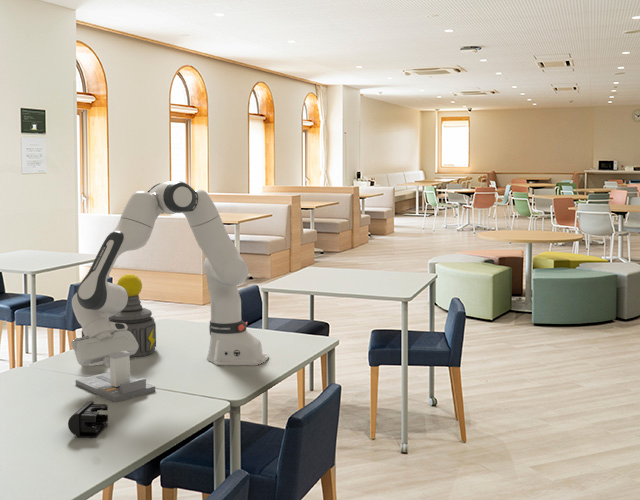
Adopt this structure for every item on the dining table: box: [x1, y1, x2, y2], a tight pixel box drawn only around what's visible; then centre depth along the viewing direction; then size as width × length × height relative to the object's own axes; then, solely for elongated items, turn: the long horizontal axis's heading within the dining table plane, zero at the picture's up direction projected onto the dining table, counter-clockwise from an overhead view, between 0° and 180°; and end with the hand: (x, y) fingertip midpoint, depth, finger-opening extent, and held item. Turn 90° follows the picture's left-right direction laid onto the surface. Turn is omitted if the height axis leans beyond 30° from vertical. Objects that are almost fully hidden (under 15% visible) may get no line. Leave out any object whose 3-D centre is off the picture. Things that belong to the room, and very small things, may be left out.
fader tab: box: [109, 351, 131, 387], centre depth 212 cm, size 3×5×10 cm, turn 137°
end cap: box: [67, 400, 109, 439], centre depth 180 cm, size 10×7×7 cm
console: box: [75, 371, 156, 403], centre depth 215 cm, size 24×14×5 cm, turn 47°
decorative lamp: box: [108, 273, 157, 359], centre depth 255 cm, size 19×19×30 cm
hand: (116, 369), depth 214 cm, fingers closed, pressing on fader tab
